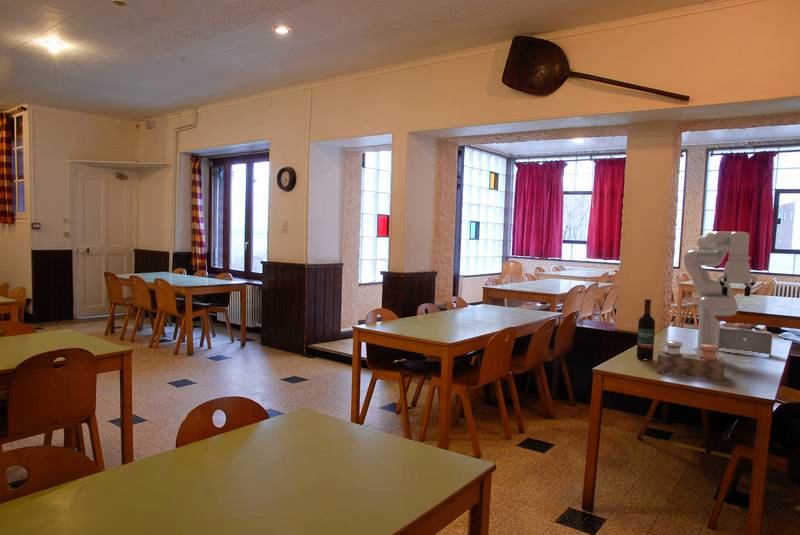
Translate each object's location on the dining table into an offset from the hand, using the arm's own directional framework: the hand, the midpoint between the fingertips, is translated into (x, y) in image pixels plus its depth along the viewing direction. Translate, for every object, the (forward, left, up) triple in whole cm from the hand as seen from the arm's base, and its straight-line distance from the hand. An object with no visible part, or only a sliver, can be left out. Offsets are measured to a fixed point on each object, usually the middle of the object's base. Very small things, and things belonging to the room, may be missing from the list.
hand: (735, 295), depth 245 cm
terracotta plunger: (+9, -17, -30) cm, 36 cm away
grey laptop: (-39, +35, -36) cm, 63 cm away
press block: (+5, -23, -35) cm, 42 cm away
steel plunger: (+2, -29, -30) cm, 42 cm away
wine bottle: (-23, -29, -35) cm, 51 cm away
